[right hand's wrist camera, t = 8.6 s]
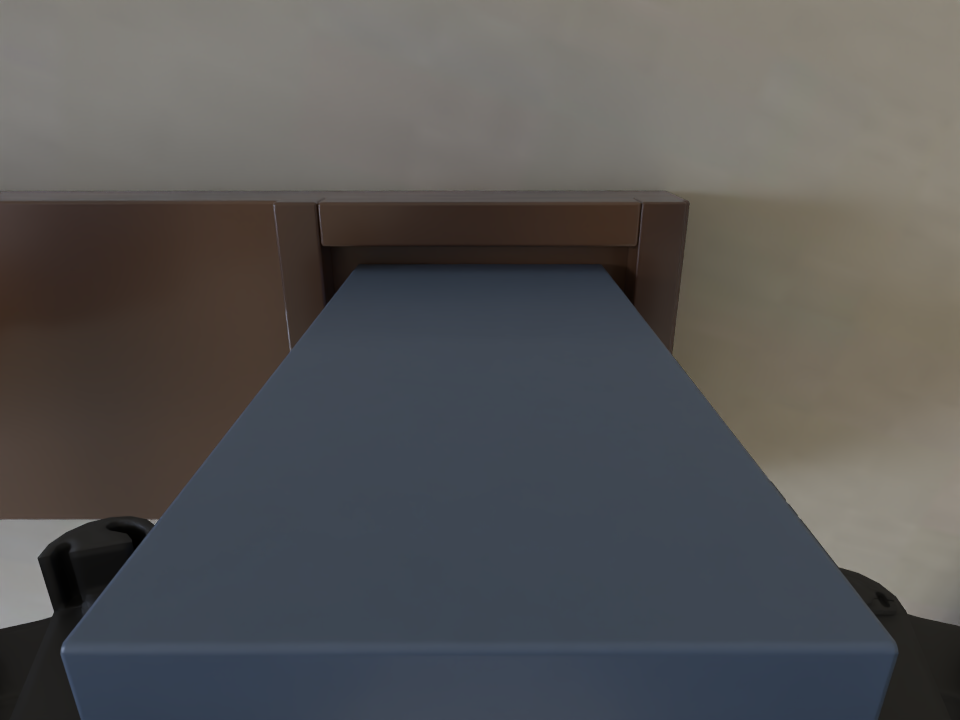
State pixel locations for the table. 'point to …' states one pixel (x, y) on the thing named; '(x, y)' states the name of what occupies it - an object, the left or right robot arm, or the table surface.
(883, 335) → the table surface
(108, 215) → the walnut caddy
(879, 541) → the table surface
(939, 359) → the table surface
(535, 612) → the slate block
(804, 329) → the table surface
